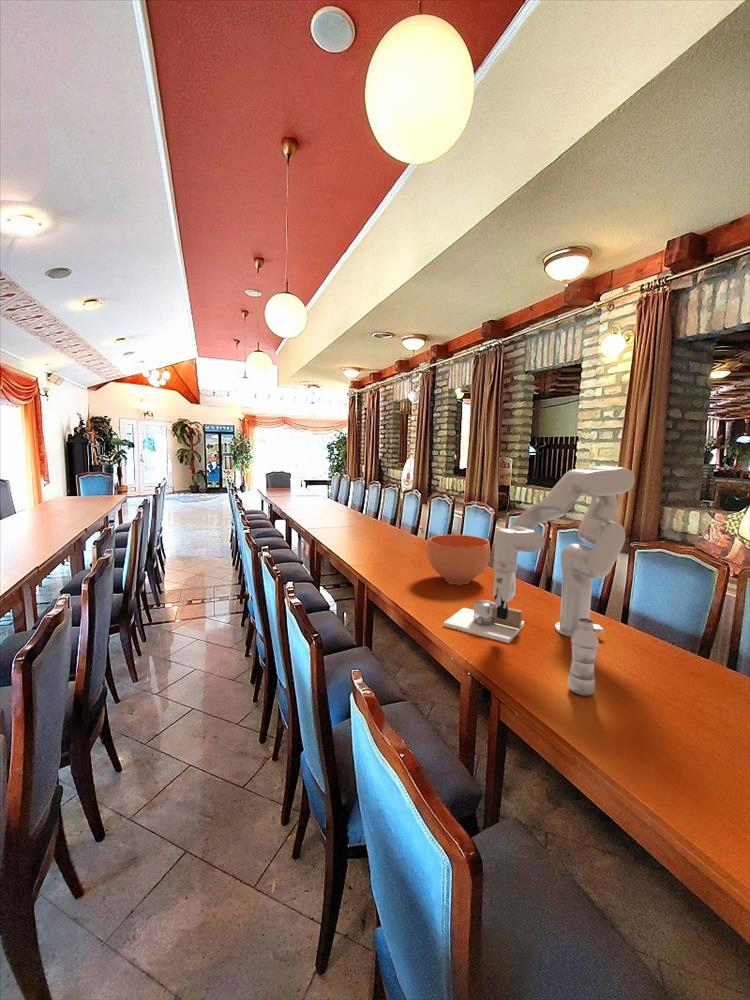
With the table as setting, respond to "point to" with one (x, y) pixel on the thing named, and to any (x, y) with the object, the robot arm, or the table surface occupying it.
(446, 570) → the bowl
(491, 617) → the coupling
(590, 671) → the plastic bottle
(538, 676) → the table surface
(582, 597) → the robot arm
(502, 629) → the base
